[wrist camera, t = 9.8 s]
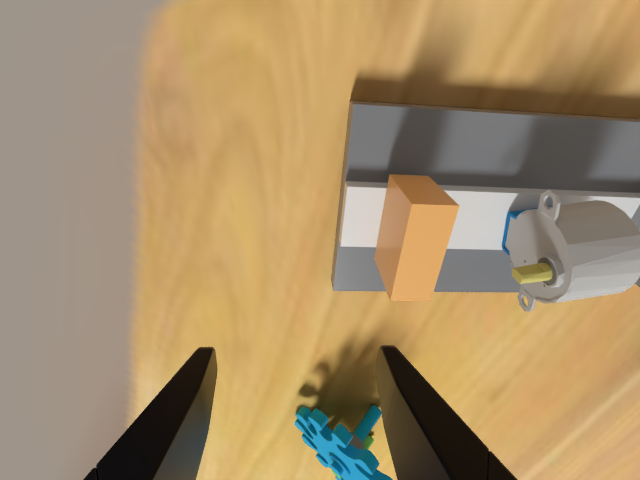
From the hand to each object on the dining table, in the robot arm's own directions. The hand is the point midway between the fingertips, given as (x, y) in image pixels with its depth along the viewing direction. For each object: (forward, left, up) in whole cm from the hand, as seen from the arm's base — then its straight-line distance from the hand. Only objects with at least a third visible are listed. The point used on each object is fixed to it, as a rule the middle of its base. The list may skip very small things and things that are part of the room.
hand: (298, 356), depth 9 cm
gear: (-5, +21, -11) cm, 24 cm away
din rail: (-12, 0, -11) cm, 16 cm away
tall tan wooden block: (-6, 0, -9) cm, 11 cm away
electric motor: (-12, 0, -9) cm, 15 cm away
